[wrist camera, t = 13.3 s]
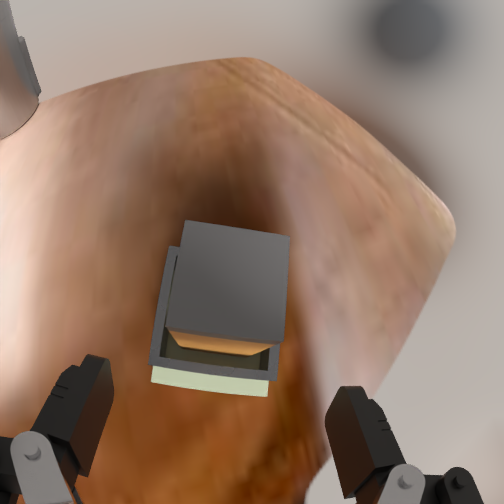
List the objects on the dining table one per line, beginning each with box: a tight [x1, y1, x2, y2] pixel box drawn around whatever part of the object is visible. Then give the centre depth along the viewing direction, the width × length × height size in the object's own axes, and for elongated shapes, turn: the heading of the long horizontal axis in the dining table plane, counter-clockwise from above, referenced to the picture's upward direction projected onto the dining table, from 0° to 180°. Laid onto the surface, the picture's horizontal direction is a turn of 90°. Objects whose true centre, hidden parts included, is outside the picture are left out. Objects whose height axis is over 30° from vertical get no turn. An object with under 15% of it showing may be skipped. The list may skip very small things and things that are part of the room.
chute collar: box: [148, 246, 280, 381], centre depth 20 cm, size 8×8×3 cm
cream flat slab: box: [151, 332, 269, 397], centre depth 22 cm, size 10×8×1 cm
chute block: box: [165, 220, 290, 357], centre depth 17 cm, size 4×4×10 cm
